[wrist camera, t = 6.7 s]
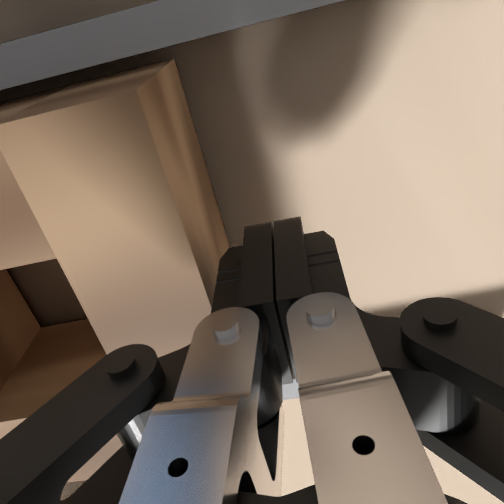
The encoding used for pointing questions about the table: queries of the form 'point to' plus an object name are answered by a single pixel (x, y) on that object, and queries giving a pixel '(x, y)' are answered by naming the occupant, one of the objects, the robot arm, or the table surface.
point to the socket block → (103, 229)
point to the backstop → (136, 42)
